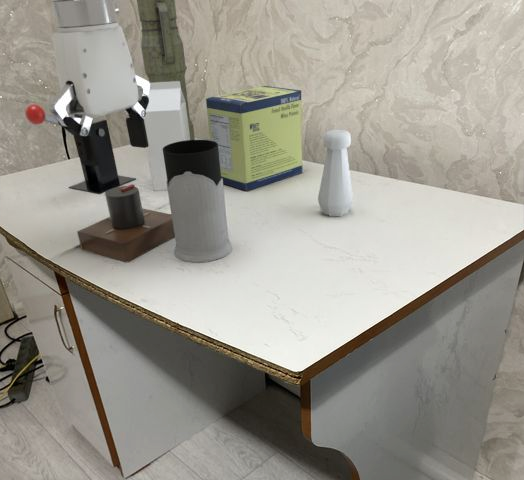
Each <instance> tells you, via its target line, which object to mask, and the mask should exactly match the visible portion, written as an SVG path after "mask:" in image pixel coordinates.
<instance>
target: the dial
mask: <svg viewBox="0 0 524 480" xmlns="http://www.w3.org/2000/svg"><path fill="white" fill-rule="evenodd" d="M104 196H105V200H106V205H107V210H108V214H109V217H110V218H111V223H112V226H113V227H114V228H117V229H130V228H134V227H137V226H140V225H142V224H143V223H144V221H145V220H144V215H143V210H142V208H143V205H142V200H141V194H140V189H139V188H138V187H137V186H135V184H133V183H132V184H128V185H121V186H119V187H116V188H112V189H110V190H108V191H106V192H104Z"/></svg>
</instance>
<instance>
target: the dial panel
mask: <svg viewBox="0 0 524 480" xmlns="http://www.w3.org/2000/svg"><path fill="white" fill-rule="evenodd" d="M142 210H143V215H144V220H145V221H144V223H143V224H142V225H140V226H137V227H134V228H130V229H117V228H114V227H113V226H112V223H111V218H110V216H108V217H106V218H104V219H102V220H100V221H98V222H95V223H93V224H91V225H88V226H86V227H84V228H82V229H79V230H77V231H76V234H77V236H78V240H79V244H80V248H81V250H82V251H85V252H89V253H93V254H96V255H101V256H104V257H107V258H111V259H115V260H118V261H122V262H124V263H125V262H126V263H128V262H131V261H133V260H134V259H136V258H138V257H140V256H142V255H143V254H145V253H148V252H150V251H151V250H152V249H154V248H156V247H158V246H160V245H161V244H164V243H165V242H166V243H167V241H170V240H171V239H174V238H175V234H174V228H173V221H172V215H171V213H167V212H162V211H157V210H152V209H147V208H143V207H142Z"/></svg>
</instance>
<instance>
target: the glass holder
mask: <svg viewBox="0 0 524 480" xmlns="http://www.w3.org/2000/svg"><path fill="white" fill-rule="evenodd" d="M163 155H164V162H165V168H166V175H167V181H166V183H167V189H168V190H167V196H168V201H169V208H170V214H171V215H172V221H173V228H174V234H175V237H174V239H175V248H174V251H173V252H174V256H175V258H177V259H178V260H181V261H182V262H183V261H184V262H188V263H207V262H213V261H216V259H217V260H221V259H223V258H224V257H226V256H228V255H229V254H230V253H232V251H233V244H232V243H231V241H230V238H229V229H228V220H227V219H228V218H227V209H226V200H225V199H226V198H225V189H224V184H223V178H221V170H220V160H219V149H218V143H216V142H214V141H210V139H195V140H186V141H180V142H175V143H172V144H169V145H166V146H165V147H163ZM231 250H232V251H231ZM227 254H228V255H227Z"/></svg>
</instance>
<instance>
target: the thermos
mask: <svg viewBox="0 0 524 480" xmlns="http://www.w3.org/2000/svg"><path fill="white" fill-rule="evenodd" d="M175 2H176V1H175V0H136V5H137V10H138V11H137V12H138V16H139V22H140V23H141V44H140V48H141V54H142V60H143V61H142V62H143V67H144V71H145V76H146V77H147V79H148V81H149V82H150V83H156V82H173V81H180V86H181V90H182V93H183V96H184V99H185V102H186V109H187V117H188V125H189V133H190V140H196V137H195V130H194V129H195V128H194V123H193V122H192V120H191V117H190V110H189V108H190V107H189V101H188V99H189V98H188V92H187V85H186V71H187V65H186V58H185V48H184V43H183V40H182V38H181V35H180V32H179V26H178V24H177V19H178V17H177V10H176V9H177V8H176V3H175Z"/></svg>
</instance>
